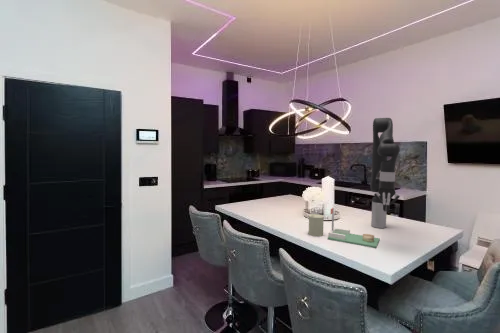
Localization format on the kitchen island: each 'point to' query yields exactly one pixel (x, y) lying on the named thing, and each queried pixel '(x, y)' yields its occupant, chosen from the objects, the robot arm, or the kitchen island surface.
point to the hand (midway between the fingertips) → (386, 211)
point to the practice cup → (337, 230)
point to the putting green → (357, 240)
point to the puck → (368, 238)
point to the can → (316, 225)
